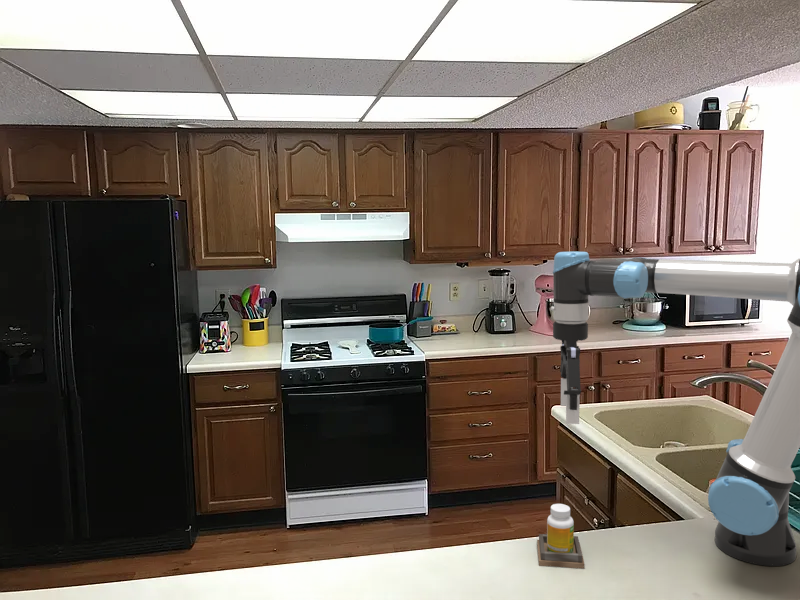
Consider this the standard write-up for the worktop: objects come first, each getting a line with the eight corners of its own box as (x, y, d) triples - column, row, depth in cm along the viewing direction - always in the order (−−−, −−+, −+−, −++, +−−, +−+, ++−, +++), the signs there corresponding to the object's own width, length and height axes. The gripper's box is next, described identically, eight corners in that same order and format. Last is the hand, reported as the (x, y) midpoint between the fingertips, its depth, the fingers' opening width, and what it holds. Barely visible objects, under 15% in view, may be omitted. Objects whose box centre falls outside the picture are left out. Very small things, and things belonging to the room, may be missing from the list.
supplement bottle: (574, 559, 130) (574, 514, 129) (547, 557, 131) (547, 512, 130) (572, 546, 135) (573, 502, 134) (546, 544, 136) (547, 501, 135)
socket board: (579, 546, 137) (579, 535, 137) (584, 568, 128) (584, 556, 128) (537, 543, 139) (537, 533, 138) (539, 565, 130) (539, 554, 130)
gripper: (549, 313, 154) (548, 398, 156) (557, 330, 129) (556, 431, 132) (581, 313, 152) (580, 399, 155) (595, 330, 128) (594, 432, 130)
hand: (569, 414), depth 143 cm, fingers open, 13 cm apart
